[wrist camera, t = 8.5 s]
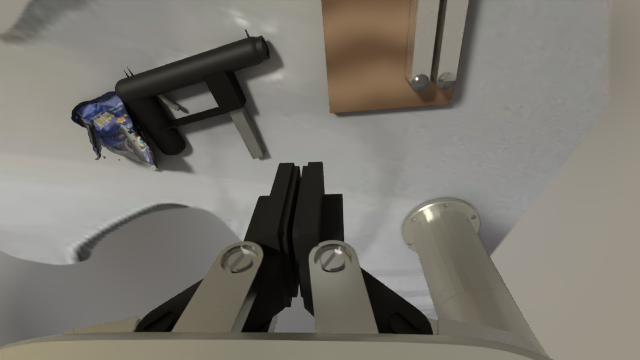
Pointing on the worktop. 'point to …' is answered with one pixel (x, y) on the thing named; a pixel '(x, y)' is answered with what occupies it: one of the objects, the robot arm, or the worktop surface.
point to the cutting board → (371, 57)
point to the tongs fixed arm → (448, 42)
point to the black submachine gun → (201, 67)
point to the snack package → (112, 127)
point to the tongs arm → (421, 43)
